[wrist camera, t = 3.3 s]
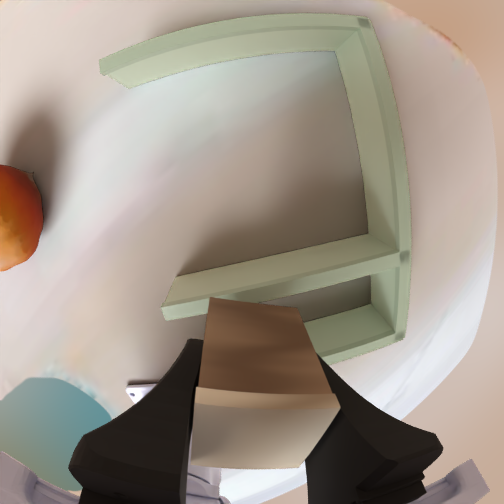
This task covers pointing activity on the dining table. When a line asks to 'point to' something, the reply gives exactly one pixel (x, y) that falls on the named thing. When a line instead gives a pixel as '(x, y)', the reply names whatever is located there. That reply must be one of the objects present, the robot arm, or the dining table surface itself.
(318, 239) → the dining table surface
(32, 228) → the fruit
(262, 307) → the walnut box
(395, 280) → the divider frame
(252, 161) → the dining table surface
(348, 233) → the dining table surface
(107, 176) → the dining table surface
